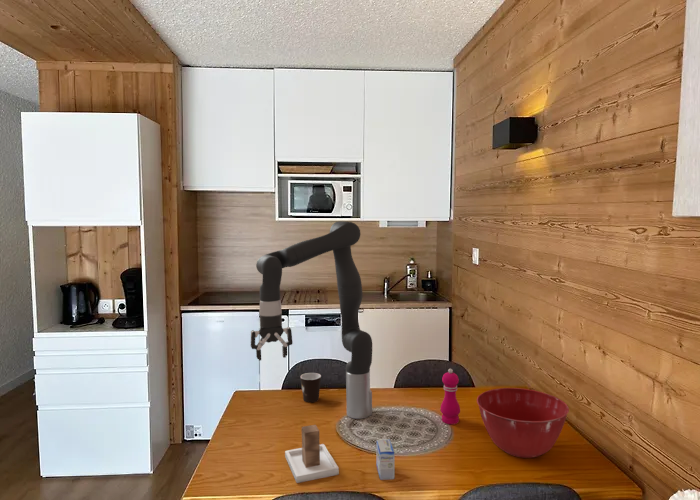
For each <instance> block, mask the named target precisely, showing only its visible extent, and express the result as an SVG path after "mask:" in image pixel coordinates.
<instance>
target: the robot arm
mask: <svg viewBox="0 0 700 500" xmlns="http://www.w3.org/2000/svg"><path fill="white" fill-rule="evenodd" d="M329 229H330V230H329V233H326V234H324V235H321V236H318V237H314V238H310V239H307V240H302V241H300V242H297V243H294V244H292V245H289V246H287V247H285V248H283V249H280V250H275V251H273V252H270V253H266V254H264V255H262V256H261V257H259V258H258V259H257V261H256V263H255V264H256V269H257V272H259V273H260V275H262V280H261V281H262V283H261V284H260V286H259V307H258V308H259V310H258V312H259V330H254V329H253V330H251V331H250V348H251V349H252V350H255V352H256V353H255V354H256V355H255V356H256V357H255V358H256V359H257V360H258V361H262V350H261V349H262V348H263V347H264V345H265V344H266V343H268V344H269V343H271V342H274V343H275V342H278V341H279V342H280V343H281V345H282V346H281V347H282V349H281V350H282V357H283V358H284V359H285V358H287V356H288V347H289V346H292V345H293V334H292V333H293V332H292V328H291V327H290V326H287V327H285V328H284V327H283V319H282V318H283V316H282V315H283V313H282V303H281V302H282V301H281V288H280V287H281V283H282V282H281V281H282V275H283V269H285V268H291V267H295V266H297V265H300V264H302V263H304V262H306V261H309V260H311V259H313V258H316V257H318V256H321V255H323V254H326V253H329V252H332V253H333V257H334V266H335V275H336V282H337V283H336V284H337V294H338V300H339V308H340V309H339V310H340V318H341V342H342V346H343V348H344V349H345V350H346V351H348V352H349V353H351V358H350V361H348V362H346V365H345V382H346V383H345V386H346V387H345V388H346V393H345V394H346V395H345V396H346V397H345V398H346V408H345V409H346V416H348V417H349V418H352V419H357V420H359V419H366V418H369V416H373V391H372V390H371V369H370V368H371V365H372V361H373V339H372V336H371V335H370V333H369V332H367V331H364V330H361V328H360V322H359V311H360V307H361V304H362V301H363V297H364V295H363V293H364V292H363V285H362V278H361V275H360V273H359V271H358V268H357V265H356V263H355V261H354V259H353V255H352V246H354V245H356V244H357V243H358V242H359V240H360V238H361V229H360V227H359V226H358V225H357V224H356V223H354V222H352V221H345V220H341V221H339V220H338V221H336V222H333V224H332V225H331V226H330V228H329ZM283 334H286V336H287V341H285V340H284V339H283V338H282V336H283ZM258 335H259V336H260V337H261V338H260V339H259V340H258V342H257V344H256V338H257V337H258Z"/></svg>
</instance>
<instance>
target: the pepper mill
mask: <svg viewBox="0 0 700 500" xmlns="http://www.w3.org/2000/svg"><path fill="white" fill-rule="evenodd" d="M453 371H454V370H453V369H452V368H449V369H448V370H447V372H445V373H443V375H442V378H441V380H442V383H443V391H444V397H443V400H442V402H441V403H440V412H441V421H442V422H443V423H444V424H447V425H456V424H458V423H459V422H460V418H459V417H460V416H459V415H460V414H461V407H460V404H459V401H458V399H457V391H458V384H459V382H460V381H459V380H460V379H459V376H458V375H457V374H456V373H455V372H453Z"/></svg>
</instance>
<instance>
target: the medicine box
mask: <svg viewBox="0 0 700 500" xmlns="http://www.w3.org/2000/svg"><path fill="white" fill-rule="evenodd" d="M375 455H376V464H375V465H376V470H377V474H378V477H379V479H380V481H384V480H385V481H386V480H388V481H389V480H395V472H396V471H395V451H394V447H393V444H392V442H391V439H390V438H389V439H388V438H387V439H384V438H382V439H377V440H376V454H375Z"/></svg>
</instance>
